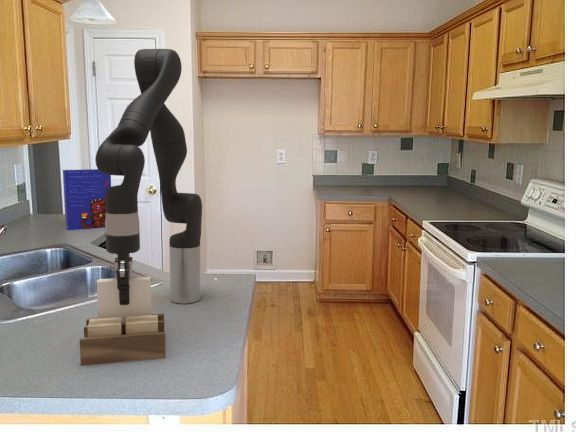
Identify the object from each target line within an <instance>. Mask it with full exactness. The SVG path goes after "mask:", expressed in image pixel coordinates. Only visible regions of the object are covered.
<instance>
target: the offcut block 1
mask: <svg viewBox="0 0 576 432" xmlns="http://www.w3.org/2000/svg"><path fill="white" fill-rule="evenodd" d="M89 319H90V321H89V324H88V327H87V328H88V338H90V337H103V336H116V335H123V329H122V317H117V318H102V319H91V318H89Z"/></svg>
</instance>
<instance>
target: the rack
mask: <svg viewBox="0 0 576 432" xmlns="http://www.w3.org/2000/svg"><path fill="white" fill-rule="evenodd" d="M151 315H158V332H156V333H143V334H129V335H126V323H122V329H123V335H116V336H103V337H90V338H88V328H87V327H88V324H89V321H90V319H98V317H94V318H86V322H85V323H86V324H85V325H84V326H83V337H80V338H79V356H80V366H87V365H89V366H90V365H101V364H109V363H110V364H113V363H121V362H134V361H145V360H156V359H166V331H165V313H151Z"/></svg>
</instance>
